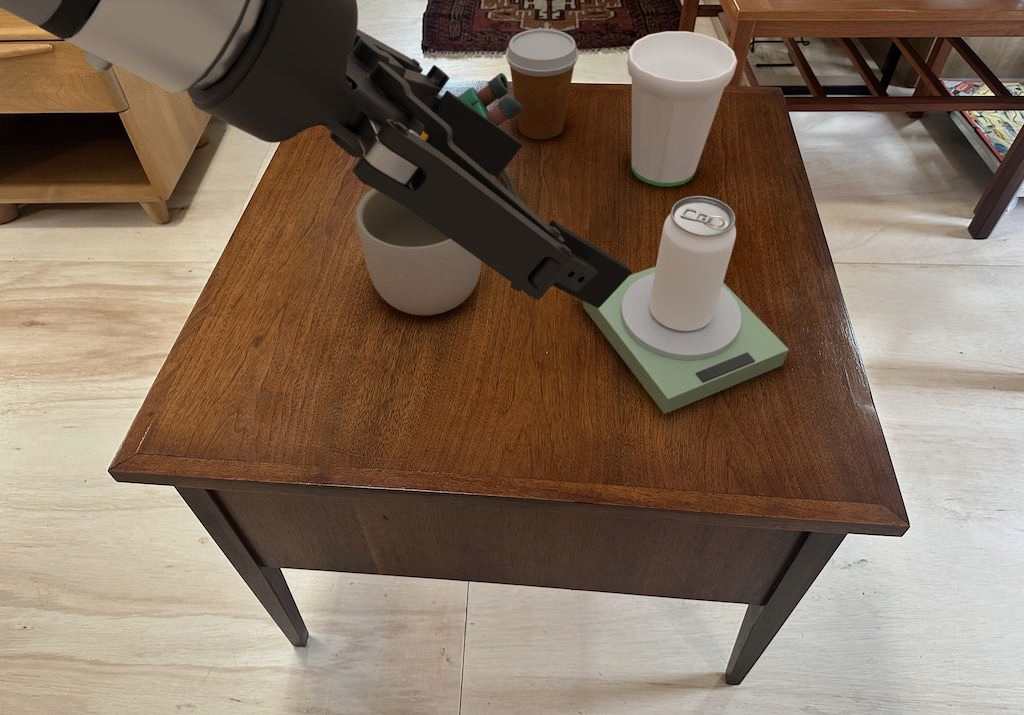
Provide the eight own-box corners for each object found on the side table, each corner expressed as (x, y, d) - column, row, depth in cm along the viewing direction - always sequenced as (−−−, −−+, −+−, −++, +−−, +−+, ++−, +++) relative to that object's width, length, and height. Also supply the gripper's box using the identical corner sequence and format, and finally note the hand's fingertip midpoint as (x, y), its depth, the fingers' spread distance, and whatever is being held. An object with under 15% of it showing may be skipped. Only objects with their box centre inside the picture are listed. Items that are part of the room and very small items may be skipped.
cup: (727, 161, 94) (755, 48, 82) (682, 208, 88) (706, 93, 76) (645, 132, 99) (661, 21, 87) (597, 174, 93) (607, 61, 81)
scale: (782, 365, 71) (791, 344, 68) (664, 414, 67) (669, 393, 65) (690, 268, 80) (695, 247, 78) (582, 306, 77) (584, 285, 74)
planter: (477, 246, 83) (472, 167, 75) (491, 321, 75) (487, 241, 67) (371, 258, 82) (354, 179, 74) (374, 335, 74) (355, 256, 66)
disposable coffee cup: (508, 109, 103) (506, 27, 94) (573, 110, 103) (578, 27, 94) (505, 146, 97) (503, 61, 88) (575, 146, 97) (580, 61, 88)
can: (699, 342, 69) (726, 247, 60) (638, 319, 71) (654, 223, 62) (722, 301, 72) (750, 206, 63) (662, 280, 75) (682, 185, 65)
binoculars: (459, 189, 96) (388, 112, 85) (544, 128, 93) (481, 39, 82) (483, 255, 87) (408, 177, 76) (578, 190, 84) (513, 98, 73)
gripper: (142, -20, 36) (442, 159, 51) (236, 281, 21) (618, 407, 37) (213, -159, 34) (506, 73, 49) (377, 72, 19) (724, 302, 34)
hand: (555, 216), depth 43 cm, fingers open, 13 cm apart
